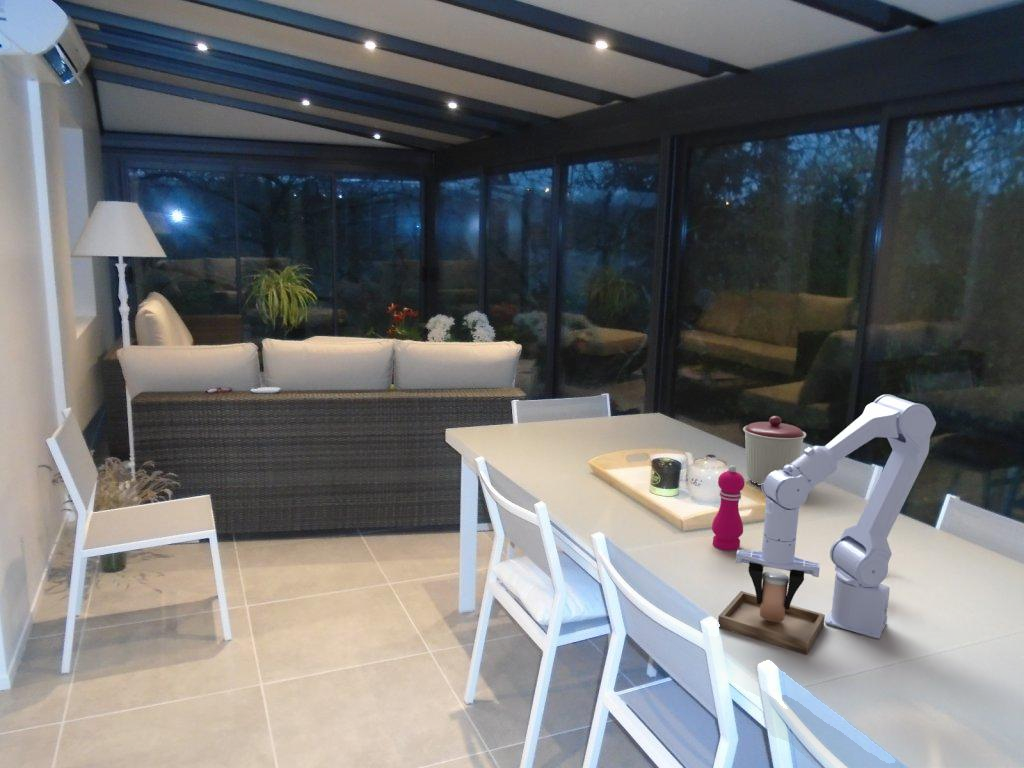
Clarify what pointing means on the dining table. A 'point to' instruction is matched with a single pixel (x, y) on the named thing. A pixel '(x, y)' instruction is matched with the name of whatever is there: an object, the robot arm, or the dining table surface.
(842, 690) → the dining table surface
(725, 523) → the pepper mill
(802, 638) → the walnut tray
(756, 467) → the canister
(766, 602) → the terracotta shaker
